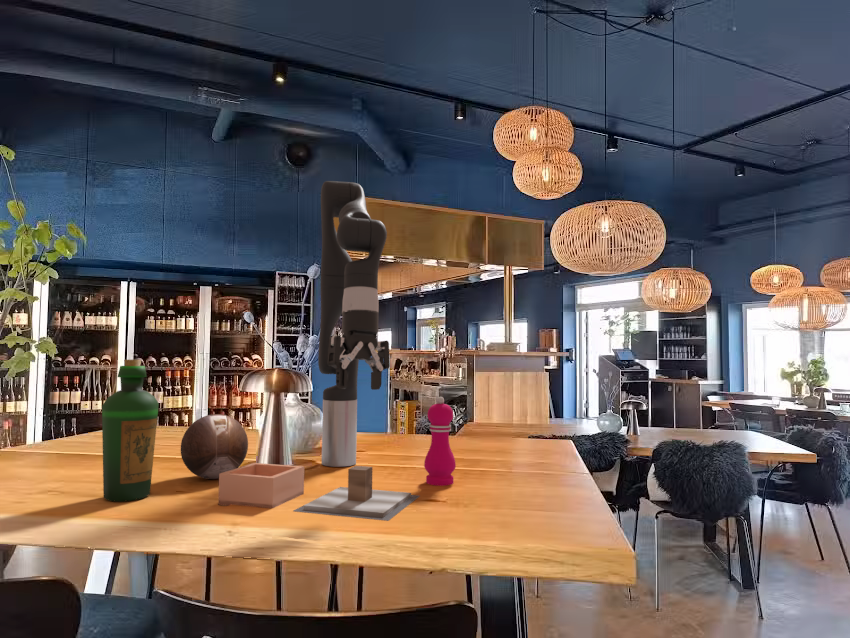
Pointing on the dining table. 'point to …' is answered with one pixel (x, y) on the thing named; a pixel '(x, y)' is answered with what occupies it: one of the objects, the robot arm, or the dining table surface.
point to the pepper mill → (440, 445)
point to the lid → (359, 497)
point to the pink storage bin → (261, 485)
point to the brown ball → (214, 446)
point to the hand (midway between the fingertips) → (359, 389)
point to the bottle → (129, 436)
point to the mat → (386, 518)
